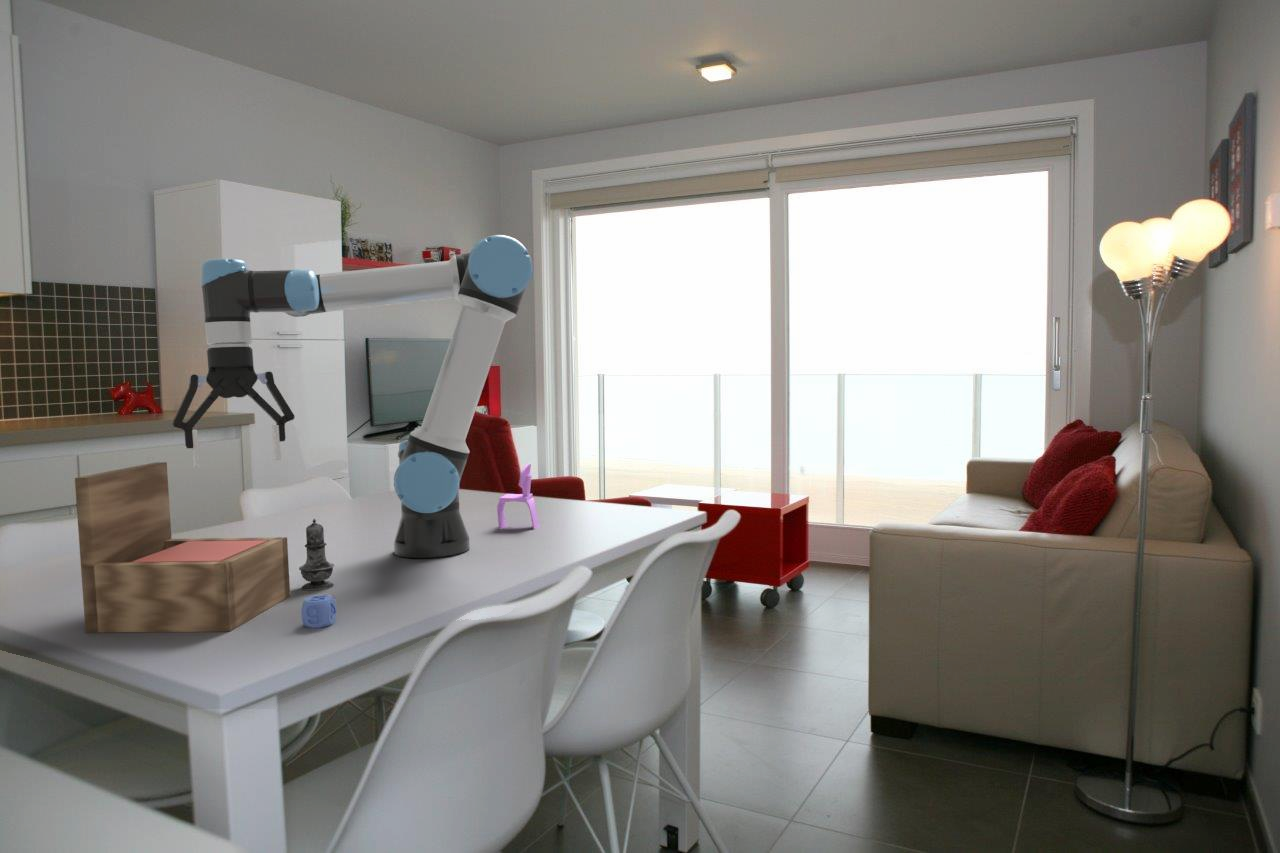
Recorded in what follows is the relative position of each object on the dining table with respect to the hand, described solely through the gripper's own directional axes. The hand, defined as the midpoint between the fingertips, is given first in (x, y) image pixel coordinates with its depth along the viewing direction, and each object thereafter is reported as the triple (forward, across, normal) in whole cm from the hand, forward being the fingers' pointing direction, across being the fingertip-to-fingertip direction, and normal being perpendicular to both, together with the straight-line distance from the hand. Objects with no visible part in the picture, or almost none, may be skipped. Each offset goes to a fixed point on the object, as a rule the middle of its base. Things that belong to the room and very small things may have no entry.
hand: (238, 463), depth 167 cm
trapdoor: (+12, +9, +23) cm, 27 cm away
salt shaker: (+22, -10, +15) cm, 28 cm away
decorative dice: (+22, -5, +40) cm, 46 cm away
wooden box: (+21, +10, +22) cm, 32 cm away
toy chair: (+22, -61, -16) cm, 67 cm away
